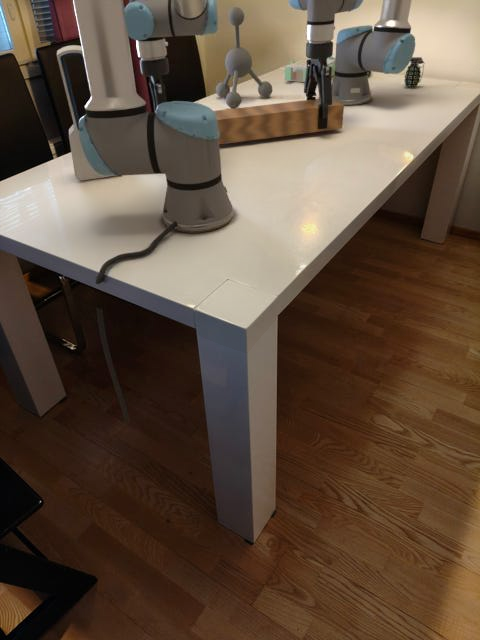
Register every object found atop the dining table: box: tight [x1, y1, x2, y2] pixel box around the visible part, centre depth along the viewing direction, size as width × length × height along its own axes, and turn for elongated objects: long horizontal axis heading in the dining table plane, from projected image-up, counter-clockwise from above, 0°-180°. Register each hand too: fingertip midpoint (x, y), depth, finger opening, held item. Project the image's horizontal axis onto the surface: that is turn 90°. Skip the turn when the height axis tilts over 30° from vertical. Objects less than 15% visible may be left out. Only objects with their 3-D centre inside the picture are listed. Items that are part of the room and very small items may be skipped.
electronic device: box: [56, 44, 116, 181], centre depth 122 cm, size 12×8×30 cm, turn 105°
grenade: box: [404, 56, 426, 89], centre depth 185 cm, size 7×6×10 cm
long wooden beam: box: [213, 98, 345, 145], centre depth 145 cm, size 60×10×7 cm, turn 104°
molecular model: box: [215, 6, 273, 109], centre depth 175 cm, size 24×22×30 cm
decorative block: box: [284, 56, 335, 83], centre depth 206 cm, size 26×6×20 cm
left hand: (165, 143), depth 143 cm, fingers closed on long wooden beam, 10 cm apart
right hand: (316, 123), depth 150 cm, fingers closed on long wooden beam, 10 cm apart
